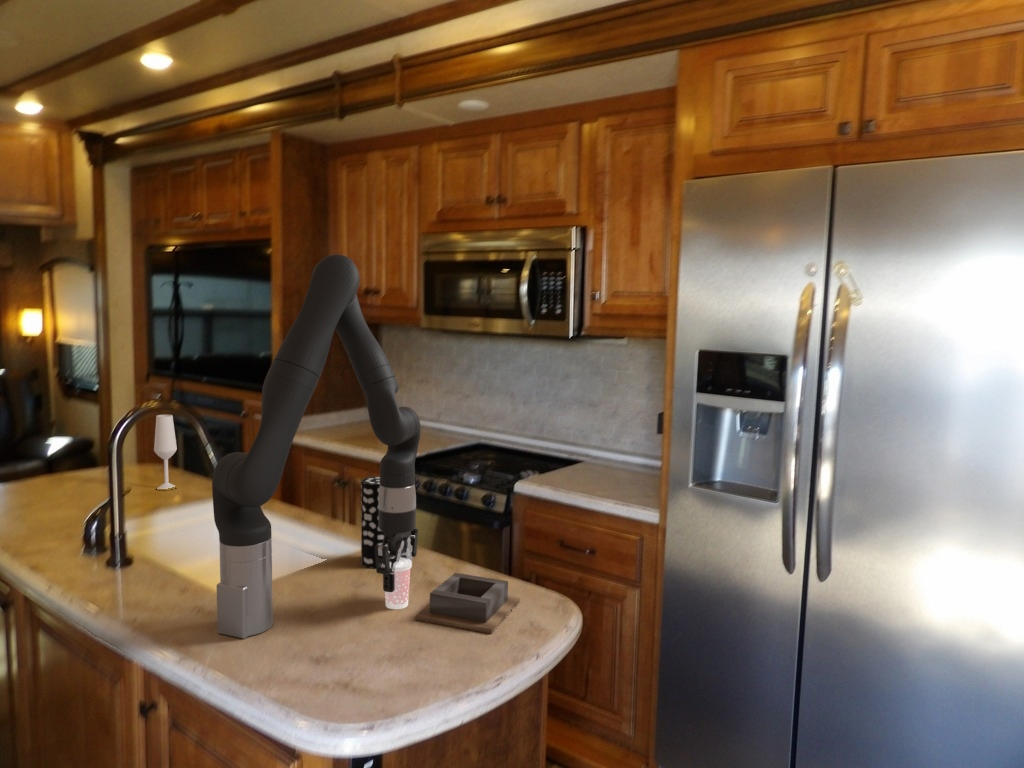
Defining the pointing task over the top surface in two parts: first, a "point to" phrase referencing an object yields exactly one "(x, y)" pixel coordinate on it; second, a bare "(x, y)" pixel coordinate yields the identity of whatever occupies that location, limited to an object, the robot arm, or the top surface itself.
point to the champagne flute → (165, 443)
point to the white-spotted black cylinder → (370, 521)
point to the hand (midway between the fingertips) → (397, 585)
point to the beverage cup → (400, 585)
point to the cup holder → (469, 603)
